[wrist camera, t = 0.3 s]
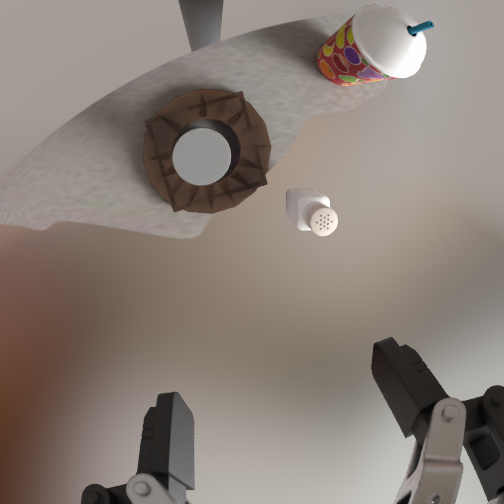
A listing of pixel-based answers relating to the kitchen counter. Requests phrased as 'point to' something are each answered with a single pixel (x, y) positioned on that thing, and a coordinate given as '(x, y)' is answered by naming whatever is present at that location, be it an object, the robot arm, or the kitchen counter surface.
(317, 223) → the pepper shaker
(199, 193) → the collar
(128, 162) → the kitchen counter surface
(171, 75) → the kitchen counter surface
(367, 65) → the smoothie
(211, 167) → the container
